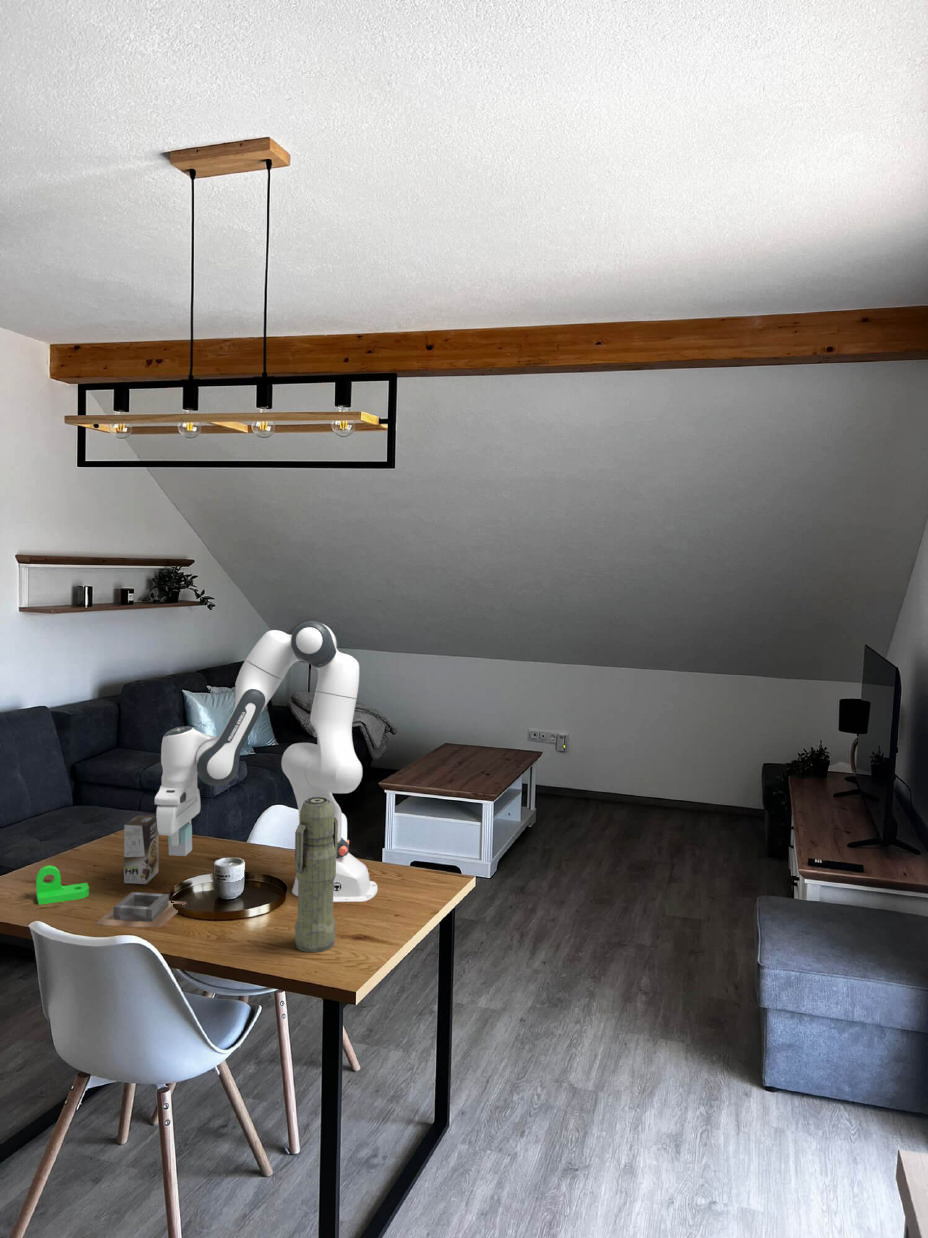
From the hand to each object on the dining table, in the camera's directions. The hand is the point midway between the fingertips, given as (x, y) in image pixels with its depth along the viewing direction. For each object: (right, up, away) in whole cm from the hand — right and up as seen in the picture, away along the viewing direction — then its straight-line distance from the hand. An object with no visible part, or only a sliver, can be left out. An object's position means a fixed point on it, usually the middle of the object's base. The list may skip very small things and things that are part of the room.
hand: (180, 841), depth 238 cm
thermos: (+41, -17, -32) cm, 55 cm away
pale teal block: (0, -3, 0) cm, 3 cm away
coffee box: (-13, -12, +8) cm, 20 cm away
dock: (-4, -14, -16) cm, 22 cm away
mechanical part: (-28, -13, -6) cm, 31 cm away
